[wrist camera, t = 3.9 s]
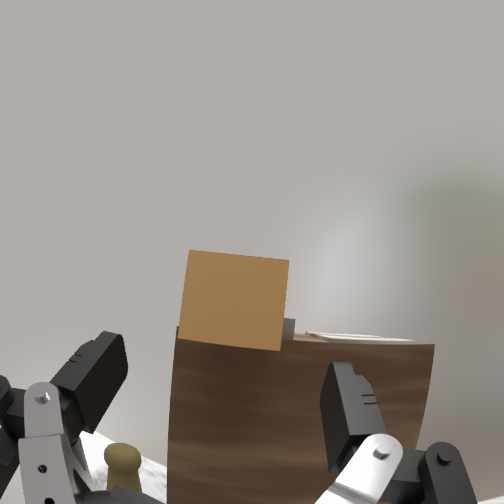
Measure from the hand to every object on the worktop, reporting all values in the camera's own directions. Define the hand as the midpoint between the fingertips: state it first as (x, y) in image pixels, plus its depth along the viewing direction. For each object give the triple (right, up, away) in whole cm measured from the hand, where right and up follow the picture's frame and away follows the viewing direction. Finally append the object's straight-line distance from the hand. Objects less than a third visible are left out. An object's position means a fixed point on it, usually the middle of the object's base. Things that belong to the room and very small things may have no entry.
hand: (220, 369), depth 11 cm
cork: (-17, -32, +17) cm, 40 cm away
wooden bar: (0, -2, +13) cm, 13 cm away
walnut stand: (+3, -32, +9) cm, 34 cm away
